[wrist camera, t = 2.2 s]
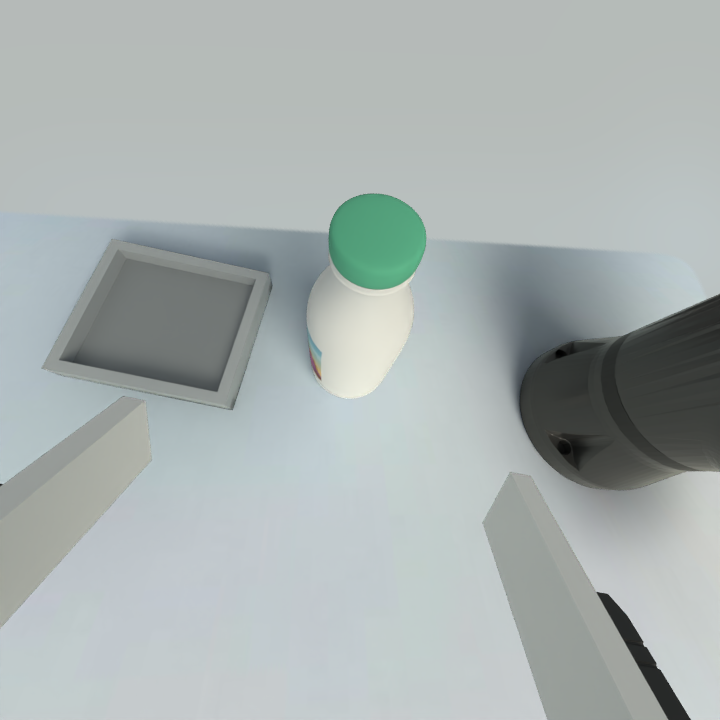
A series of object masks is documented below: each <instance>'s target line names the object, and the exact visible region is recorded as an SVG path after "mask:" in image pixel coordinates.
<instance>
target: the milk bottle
mask: <svg viewBox="0 0 720 720" xmlns="http://www.w3.org/2000/svg"><path fill="white" fill-rule="evenodd" d="M425 246H426V231H425V227H424V225H423V222H422V220H421V218H420V217H419V215H418V214H417V213H416V212H415V211H414V210H413V209H412V208H411V207H410V206H409V205H407V204H406V203H404V202H403V201H401V200H399V199H397V198H394V197H392V196H388V195H384V194H363V195H359V196H356V197H353V198H351V199H349V200H348V201H346V202H345V203H343V204H342V205H341V206H340V207H339V208H338V209H337V211H336V212H335V214H334V216H333V218H332V221H331V224H330V229H329V254H328V256H329V263H330V265H329V266H328V267H327V268H326V269H325V270H324V271H323V272H322V273H321V274H320V276H319V277H318V279H317V280H316V282H315V284H314V286H313V288H312V290H311V293H310V296H309V300H308V305H307V333H308V343H309V351H310V358H311V366H312V370H313V373H314V376H315V378H316V380H317V382H318V383H319V384H320V385H321V387H322V388H324V389H325V390H326V391H327V392H329V393H330V394H332V395H334V396H337V397H340V398H347V399H353V398H359V397H362V396H365V395H367V394H369V393H371V392H372V391H373V390H374V389H376V388H377V386H378V385H379V384H380V383H381V382H382V380H383V379H384V377H385V376H386V374H387V373H388V371H389V370H390V368H391V366H392V365H393V363H394V362H395V360H396V358H397V357H398V355H399V354H400V352H401V350H402V348H403V347H404V345H405V343H406V341H407V339H408V337H409V334H410V331H411V328H412V324H413V318H414V301H413V295H412V292H411V288H410V286H409V282H410V281H411V280H412V278H413V276H414V274H415V271H416V269H417V267H418V265H419V263H420V261H421V259H422V256H423V254H424V251H425Z"/></svg>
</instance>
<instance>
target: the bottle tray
mask: <svg viewBox="0 0 720 720" xmlns="http://www.w3.org/2000/svg"><path fill="white" fill-rule="evenodd" d="M271 289H272V283H271V280H270V276H269V273H266V272H262V271H257V270H253V269H248V268H243V267H239V266H234V265H230V264H225V263H220V262H216V261H211V260H207V259H202V258H197V257H193V256H188V255H184V254H179V253H174V252H170V251H165V250H161V249H156V248H151V247H147V246H142V245H138V244H133V243H128V242H124V241H119V240H115V239H112V240H111V242H110V244H109V245H108V247H107V249H106V251H105V253H104V255H103V256H102V258H101V260H100V262H99V264H98V266H97V267H96V269H95V271H94V273H93V275H92V277H91V278H90V280H89V282H88V284H87V286H86V288H85V289H84V291H83V293H82V295H81V297H80V299H79V300H78V302H77V304H76V306H75V308H74V309H73V311H72V313H71V315H70V317H69V319H68V320H67V322H66V324H65V326H64V328H63V330H62V331H61V333H60V335H59V337H58V339H57V341H56V342H55V344H54V346H53V348H52V350H51V352H50V353H49V355H48V357H47V359H46V361H45V362H44V364H43V366H42V369H44V370H47V371H50V372H53V373H56V374H59V375H61V376H65V377H70V378H75V379H80V380H85V381H90V382H95V383H100V384H105V385H110V386H115V387H120V388H125V389H130V390H135V391H140V392H145V393H150V394H155V395H160V396H165V397H170V398H175V399H179V400H184V401H189V402H194V403H199V404H204V405H209V406H214V407H219V408H224V409H229V410H233V407H234V404H235V401H236V398H237V395H238V392H239V389H240V385H241V382H242V379H243V376H244V373H245V370H246V367H247V364H248V361H249V357H250V354H251V351H252V348H253V345H254V342H255V339H256V336H257V332H258V329H259V326H260V323H261V320H262V317H263V314H264V311H265V307H266V304H267V301H268V298H269V295H270V292H271Z"/></svg>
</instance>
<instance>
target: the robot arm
mask: <svg viewBox="0 0 720 720" xmlns="http://www.w3.org/2000/svg"><path fill="white" fill-rule="evenodd" d="M520 407H521V414H522V419H523V422H524V426H525V428H526V431H527V433H528V435H529V437H530V439H531V441H532V443H533V445H534V446H535V448H536V449H537V451H538V452H539V453H540V455H541V456H542V457H543V458H544V459H545V460H546V462H547V463H548V464H549V465H550V466H552V467H553V468H554V469H555V470H556V471H558V472H559V473H560V474H562V475H563V476H565V477H566V478H568V479H570V480H572V481H574V482H576V483H578V484H580V485H583V486H586V487H590V488H596V489H607V490H631V489H637V488H641V487H644V486H647V485H650V484H652V483H655V482H658V481H661V480H664V479H667V478H669V477H672V476H675V475H678V474H681V473H683V472H686V471H714V472H720V294H719V295H716V296H714V297H711V298H709V299H707V300H704V301H702V302H700V303H698V304H695V305H693V306H691V307H688V308H686V309H684V310H681V311H679V312H677V313H674V314H672V315H670V316H667V317H665V318H663V319H660V320H658V321H656V322H653V323H651V324H649V325H646V326H644V327H642V328H640V329H638V330H636V331H633V332H631V333H629V334H626V335H624V336H618V337H608V338H598V339H588V340H578V341H572V342H569V343H565V344H562V345H560V346H558V347H556V348H554V349H552V350H550V351H548V352H546V353H544V354H543V355H541V356H540V357H539V358H537V359H536V360H535V361H534V362H533V363H532V365H531V366H530V367H529V369H528V371H527V372H526V374H525V377H524V379H523V382H522V386H521V393H520ZM151 460H152V456H151V447H150V438H149V429H148V419H147V410H146V401H145V400H141V399H136V398H131V397H125V396H123V397H121V398H120V399H118V400H117V401H116V402H114V403H113V404H112V405H110V406H109V407H108V408H106V409H105V410H104V411H102V412H101V413H99V414H98V415H97V416H95V417H94V418H93V419H91V420H90V421H89V422H87V423H86V424H85V425H83V426H82V427H80V428H79V429H78V430H76V431H75V432H74V433H72V434H71V435H70V436H68V437H67V438H66V439H64V440H63V441H61V442H60V443H59V444H57V445H56V446H55V447H53V448H52V449H51V450H49V451H48V452H47V453H45V454H44V455H42V456H41V457H40V458H38V459H37V460H36V461H34V462H33V463H32V464H30V465H29V466H28V467H26V468H25V469H24V470H22V471H21V472H19V473H18V474H17V475H15V476H14V477H13V478H11V479H10V480H9V481H7V482H6V483H5V484H0V628H1V627H2V626H3V625H4V624H5V623H6V622H7V621H8V619H9V618H10V617H11V616H12V615H13V614H14V613H15V612H16V611H17V609H18V608H19V607H20V606H21V605H22V604H23V603H24V602H25V600H26V599H27V598H28V597H29V596H30V595H31V594H32V593H33V592H34V590H35V589H36V588H37V587H38V586H39V585H40V584H41V583H42V582H43V580H44V579H45V578H46V577H47V576H48V575H49V574H50V573H51V572H52V570H53V569H54V568H55V567H56V566H57V565H58V564H59V563H60V562H61V560H62V559H63V558H64V557H65V556H66V555H67V554H68V553H69V552H70V550H71V549H72V548H73V547H74V546H75V545H76V544H77V543H78V542H79V540H80V539H81V538H82V537H83V536H84V535H85V534H86V533H87V532H88V530H89V529H90V528H91V527H92V526H93V525H94V524H95V523H96V522H97V520H98V519H99V518H100V517H101V516H102V515H103V514H104V513H105V512H106V510H107V509H108V508H109V507H110V506H111V505H112V504H113V503H114V502H115V500H116V499H117V498H118V497H119V496H120V495H121V494H122V493H123V492H124V490H125V489H126V488H127V487H128V486H129V485H130V484H131V483H132V482H133V480H134V479H135V478H136V477H137V476H138V475H139V474H140V473H141V472H142V470H143V469H144V468H145V467H146V466H147V465H148V464H149V463H150V462H151ZM483 525H484V528H485V532H486V535H487V538H488V541H489V544H490V547H491V550H492V553H493V556H494V559H495V562H496V565H497V568H498V571H499V574H500V577H501V580H502V583H503V586H504V589H505V592H506V595H507V598H508V601H509V604H510V608H511V611H512V614H513V617H514V620H515V623H516V626H517V629H518V632H519V635H520V638H521V641H522V644H523V647H524V650H525V653H526V656H527V659H528V662H529V665H530V668H531V671H532V674H533V677H534V680H535V684H536V687H537V690H538V693H539V696H540V699H541V702H542V705H543V708H544V711H545V714H546V717H547V720H691V719H690V718H689V716H688V715H687V713H686V711H685V710H684V708H683V706H682V705H681V703H680V701H679V700H678V698H677V696H676V695H675V693H674V692H673V690H672V688H671V687H670V685H669V683H668V682H667V680H666V678H665V677H664V675H663V673H662V672H661V670H660V669H658V668H657V666H656V662H655V660H654V659H653V657H652V655H651V654H650V652H649V650H648V649H647V647H644V645H643V641H642V639H641V637H640V636H639V634H638V632H637V631H636V629H635V627H634V626H633V624H632V623H631V621H630V619H629V618H628V616H627V615H626V614H625V613H624V612H623V611H622V609H621V608H620V607H619V606H618V605H617V604H616V603H615V602H614V600H613V599H612V598H611V597H610V596H609V595H608V594H605V593H599V592H596V591H595V589H594V587H593V586H592V584H591V582H590V580H589V579H588V577H587V575H586V573H585V572H584V570H583V568H582V566H581V564H580V563H579V561H578V559H577V557H576V556H575V554H574V552H573V550H572V549H571V547H570V545H569V543H568V541H567V540H566V538H565V536H564V534H563V533H562V531H561V529H560V527H559V525H558V524H557V522H556V520H555V518H554V517H553V515H552V513H551V511H550V510H549V508H548V506H547V504H546V502H545V501H544V499H543V497H542V495H541V494H540V492H539V490H538V488H537V487H536V485H535V483H534V481H533V479H532V478H531V476H528V475H523V474H518V473H513V472H510V473H509V475H508V477H507V479H506V481H505V483H504V484H503V486H502V488H501V490H500V492H499V493H498V495H497V497H496V499H495V501H494V503H493V504H492V506H491V508H490V510H489V512H488V514H487V515H486V517H485V519H484V521H483Z"/></svg>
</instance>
